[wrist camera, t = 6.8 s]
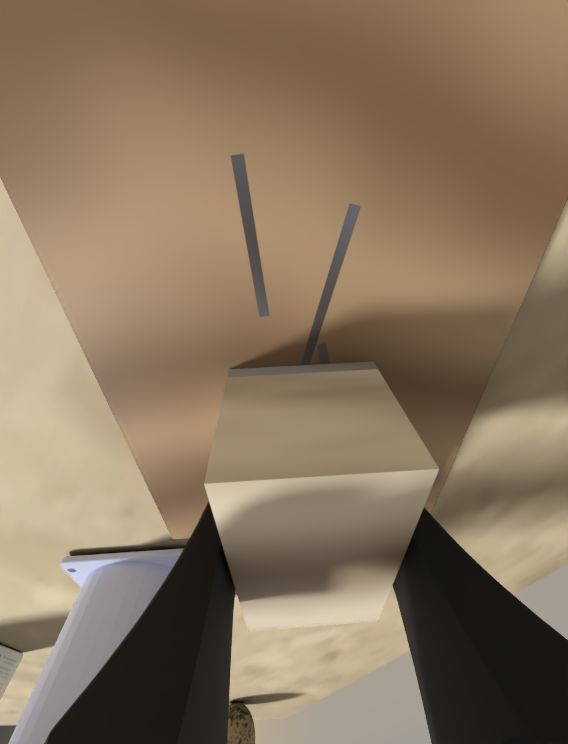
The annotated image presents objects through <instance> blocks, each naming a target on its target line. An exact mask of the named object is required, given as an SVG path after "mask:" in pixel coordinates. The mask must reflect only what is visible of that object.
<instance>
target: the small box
mask: <svg viewBox="0 0 568 744" xmlns="http://www.w3.org/2000/svg"><path fill="white" fill-rule="evenodd" d="M22 657H23V653H20V652H18V651H15V650H12V649H10V648H7V647H4V646H2V645H0V699H1V697H2V695H3V693H4V691H5V689H6V687H7V686H8V684H9V682H10V680H11V678H12V676H13V674H14V672H15V670H16V668H17V667H18V665H19V663H20V661H21V659H22Z"/></svg>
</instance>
